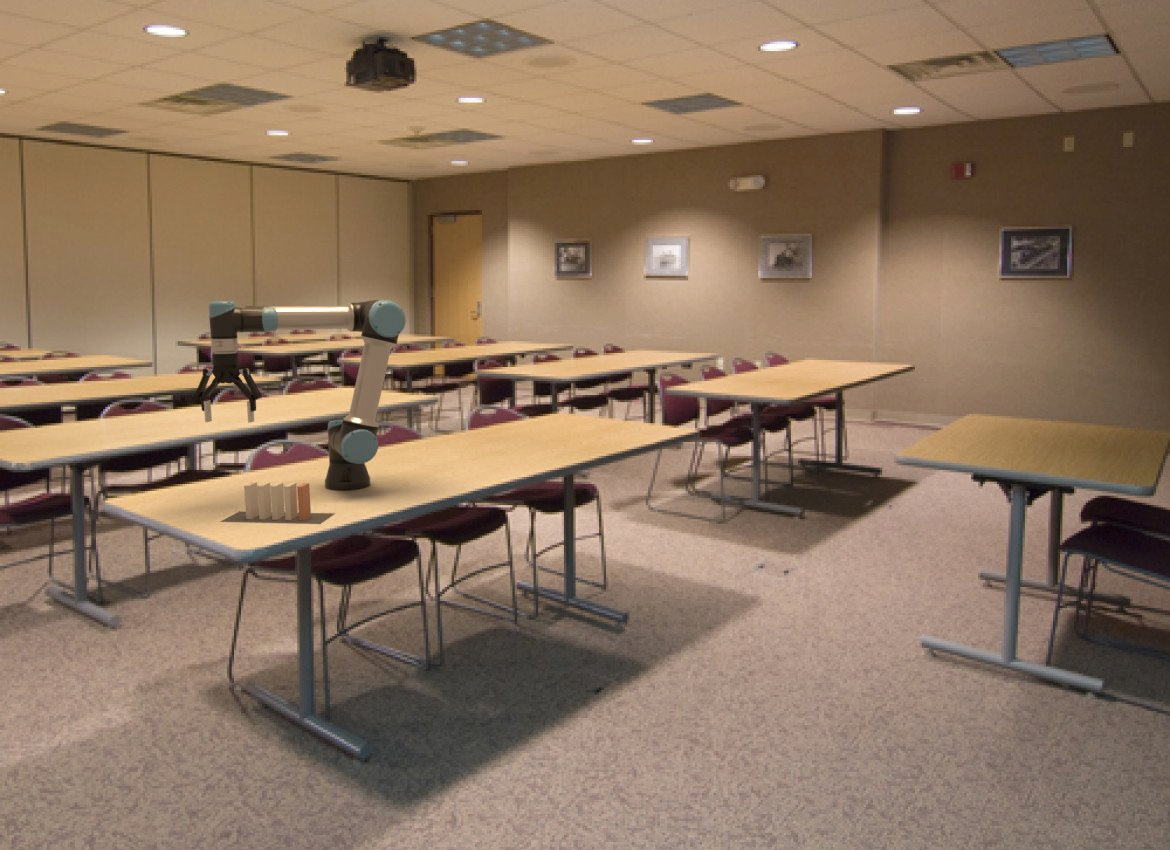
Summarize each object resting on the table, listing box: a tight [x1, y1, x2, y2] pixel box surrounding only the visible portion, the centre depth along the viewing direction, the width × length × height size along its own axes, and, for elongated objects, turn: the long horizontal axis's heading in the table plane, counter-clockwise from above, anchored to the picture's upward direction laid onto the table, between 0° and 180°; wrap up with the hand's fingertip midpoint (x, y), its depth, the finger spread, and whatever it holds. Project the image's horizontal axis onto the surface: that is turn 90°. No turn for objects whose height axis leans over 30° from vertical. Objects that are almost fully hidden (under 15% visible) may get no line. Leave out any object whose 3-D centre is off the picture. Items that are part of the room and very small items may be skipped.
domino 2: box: [257, 481, 272, 519], centre depth 266 cm, size 2×5×10 cm, turn 175°
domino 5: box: [296, 482, 312, 520], centre depth 265 cm, size 2×5×10 cm, turn 175°
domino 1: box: [243, 481, 259, 519], centre depth 266 cm, size 2×5×10 cm, turn 175°
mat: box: [219, 510, 336, 525], centre depth 266 cm, size 30×12×1 cm, turn 85°
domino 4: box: [283, 482, 299, 520], centre depth 265 cm, size 2×5×10 cm, turn 175°
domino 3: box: [270, 482, 285, 520], centre depth 265 cm, size 2×5×10 cm, turn 175°
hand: (229, 421), depth 277 cm, fingers open, 13 cm apart
